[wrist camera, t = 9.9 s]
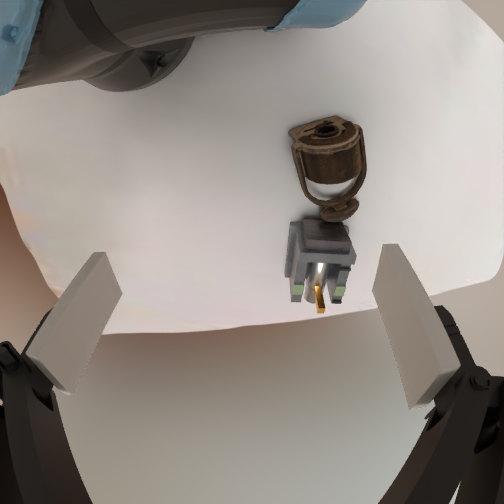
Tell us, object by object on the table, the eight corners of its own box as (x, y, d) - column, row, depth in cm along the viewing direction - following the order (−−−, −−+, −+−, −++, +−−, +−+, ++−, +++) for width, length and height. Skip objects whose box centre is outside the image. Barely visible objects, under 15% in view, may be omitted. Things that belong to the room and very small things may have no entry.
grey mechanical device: (302, 218, 34) (310, 253, 28) (341, 221, 34) (357, 256, 27) (293, 284, 40) (297, 324, 33) (328, 286, 39) (337, 325, 33)
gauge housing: (290, 222, 36) (294, 252, 30) (347, 226, 36) (361, 255, 30) (284, 272, 40) (286, 307, 34) (336, 275, 40) (346, 308, 34)
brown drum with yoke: (398, 125, 23) (306, 109, 22) (379, 241, 29) (294, 244, 27) (362, 120, 30) (283, 109, 28) (350, 217, 35) (276, 218, 34)
